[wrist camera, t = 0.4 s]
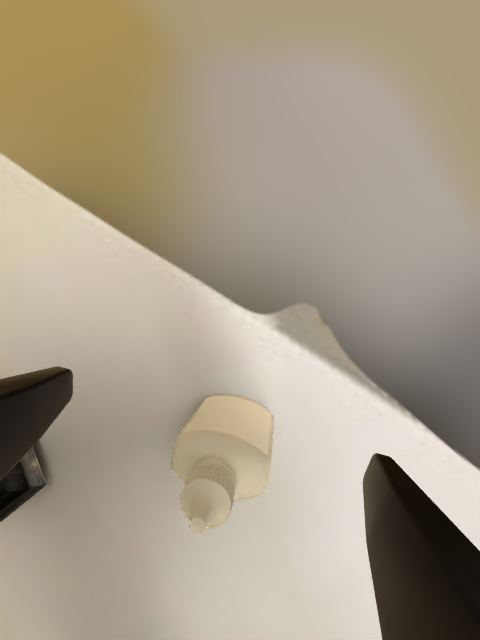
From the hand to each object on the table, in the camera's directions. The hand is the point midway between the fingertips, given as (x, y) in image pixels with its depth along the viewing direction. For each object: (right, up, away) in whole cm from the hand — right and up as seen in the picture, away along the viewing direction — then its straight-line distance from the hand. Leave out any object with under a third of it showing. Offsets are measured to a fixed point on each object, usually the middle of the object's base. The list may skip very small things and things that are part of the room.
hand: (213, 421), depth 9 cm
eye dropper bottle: (+1, -5, +16) cm, 17 cm away
